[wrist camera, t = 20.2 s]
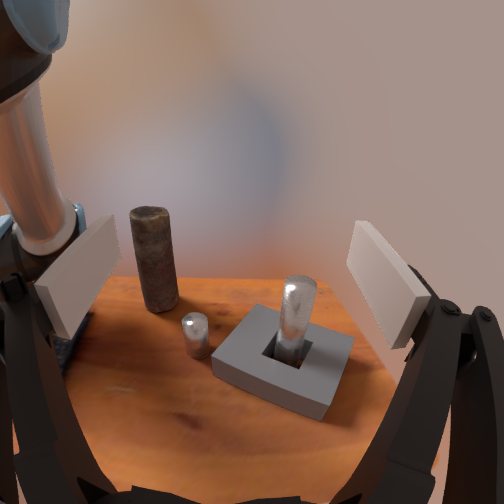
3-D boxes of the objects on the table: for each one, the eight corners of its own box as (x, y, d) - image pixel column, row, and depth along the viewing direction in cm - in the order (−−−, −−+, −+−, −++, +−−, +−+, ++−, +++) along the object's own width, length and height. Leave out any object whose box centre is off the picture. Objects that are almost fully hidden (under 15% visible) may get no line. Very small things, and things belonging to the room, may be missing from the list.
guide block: (212, 374, 40) (210, 355, 37) (255, 323, 51) (256, 303, 48) (320, 421, 33) (329, 405, 30) (346, 356, 43) (354, 337, 41)
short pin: (182, 352, 43) (176, 323, 40) (196, 338, 46) (192, 309, 43) (201, 362, 42) (197, 334, 38) (214, 347, 45) (212, 318, 41)
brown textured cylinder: (153, 289, 58) (139, 202, 48) (184, 293, 57) (175, 203, 48) (139, 311, 51) (120, 218, 41) (173, 316, 51) (159, 220, 41)
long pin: (267, 372, 41) (279, 287, 32) (278, 355, 44) (291, 271, 36) (290, 381, 39) (311, 298, 31) (300, 364, 42) (320, 280, 34)
